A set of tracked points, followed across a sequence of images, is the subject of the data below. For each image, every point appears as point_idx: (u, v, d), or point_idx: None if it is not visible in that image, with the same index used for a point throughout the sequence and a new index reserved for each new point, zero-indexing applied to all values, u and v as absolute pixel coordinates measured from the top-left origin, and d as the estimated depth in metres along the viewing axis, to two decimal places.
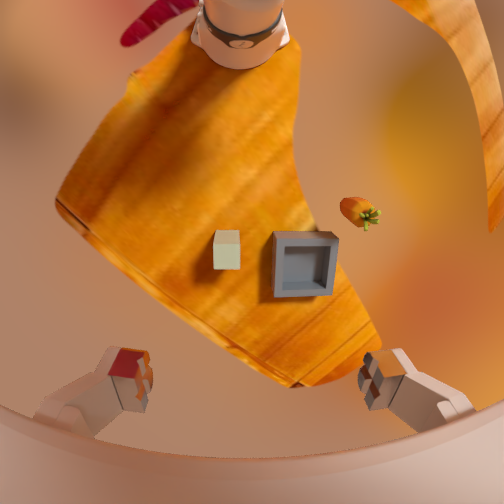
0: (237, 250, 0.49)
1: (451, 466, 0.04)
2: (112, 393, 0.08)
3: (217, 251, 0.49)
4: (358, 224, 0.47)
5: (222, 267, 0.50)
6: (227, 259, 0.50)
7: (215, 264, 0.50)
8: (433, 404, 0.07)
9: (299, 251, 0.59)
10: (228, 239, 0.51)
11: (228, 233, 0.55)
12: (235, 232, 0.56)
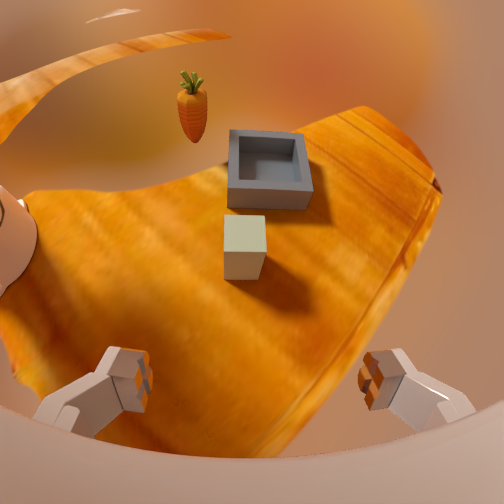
0: (235, 218, 0.33)
1: (451, 466, 0.04)
2: (112, 393, 0.08)
3: (236, 246, 0.31)
4: (202, 97, 0.39)
5: (262, 239, 0.32)
6: (249, 232, 0.32)
7: (258, 249, 0.31)
8: (433, 405, 0.07)
9: (253, 175, 0.45)
10: None
11: None
12: None
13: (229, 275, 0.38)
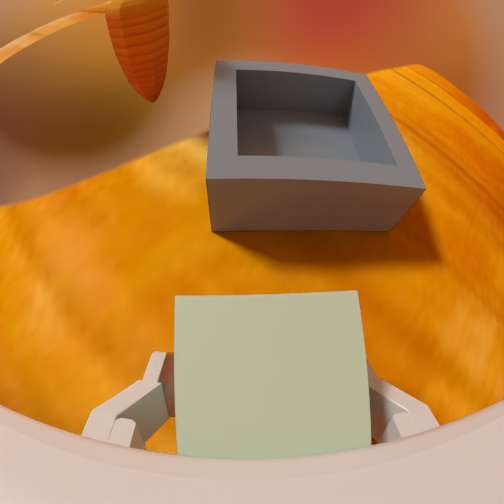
0: (226, 316, 0.07)
1: (451, 466, 0.04)
2: (161, 400, 0.08)
3: (235, 457, 0.05)
4: None
5: (358, 411, 0.06)
6: (298, 383, 0.06)
7: None
8: (392, 415, 0.07)
9: (271, 153, 0.19)
10: None
11: None
12: None
13: None
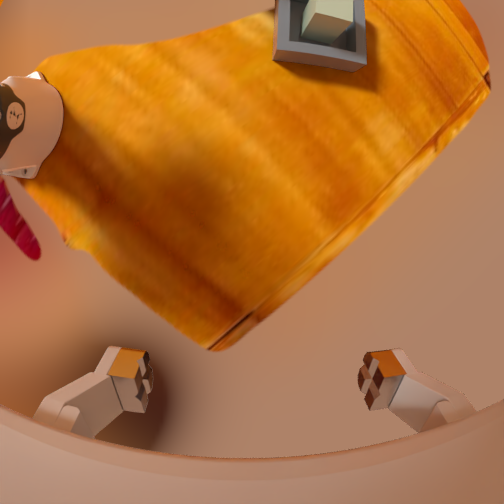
0: None
1: (451, 466, 0.04)
2: (112, 393, 0.08)
3: (326, 10, 0.23)
4: None
5: (350, 12, 0.23)
6: (339, 3, 0.23)
7: (345, 18, 0.24)
8: (433, 404, 0.07)
9: None
10: (311, 5, 0.25)
11: (304, 17, 0.29)
12: (304, 12, 0.29)
13: (307, 34, 0.31)
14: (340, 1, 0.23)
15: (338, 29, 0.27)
